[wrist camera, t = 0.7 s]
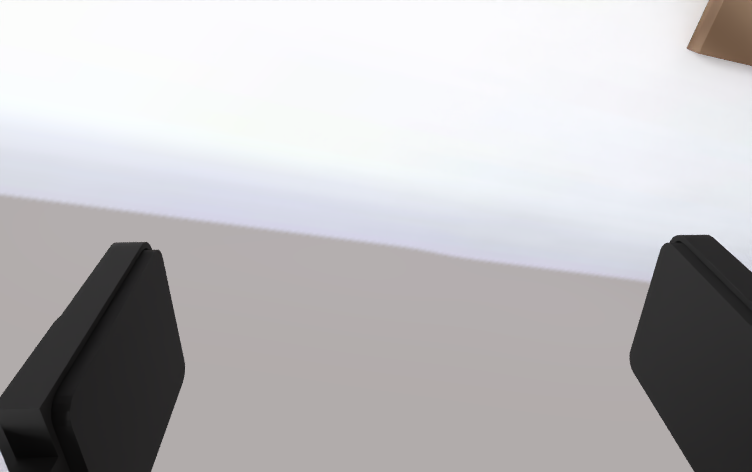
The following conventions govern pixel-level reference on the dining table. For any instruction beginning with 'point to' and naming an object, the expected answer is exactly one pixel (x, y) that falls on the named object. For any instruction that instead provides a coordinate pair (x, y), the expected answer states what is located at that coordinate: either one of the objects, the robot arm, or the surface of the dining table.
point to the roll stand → (725, 31)
